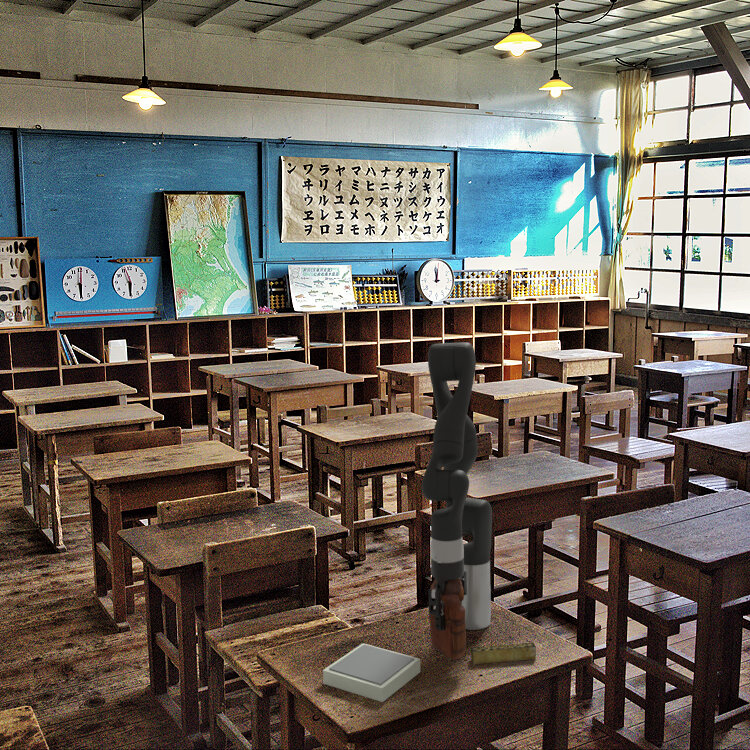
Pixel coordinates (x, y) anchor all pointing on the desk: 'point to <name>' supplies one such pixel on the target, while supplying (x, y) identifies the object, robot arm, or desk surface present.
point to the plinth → (371, 672)
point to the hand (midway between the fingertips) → (448, 622)
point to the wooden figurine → (451, 622)
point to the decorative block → (503, 653)
